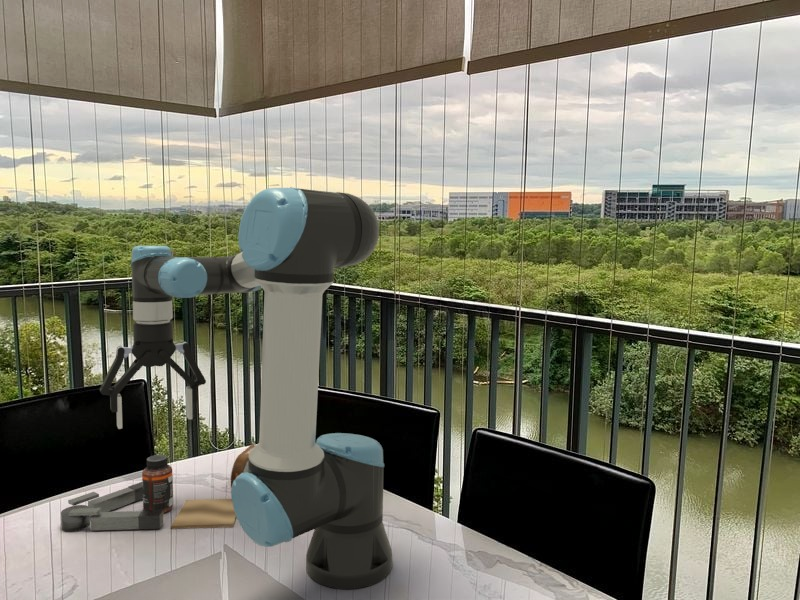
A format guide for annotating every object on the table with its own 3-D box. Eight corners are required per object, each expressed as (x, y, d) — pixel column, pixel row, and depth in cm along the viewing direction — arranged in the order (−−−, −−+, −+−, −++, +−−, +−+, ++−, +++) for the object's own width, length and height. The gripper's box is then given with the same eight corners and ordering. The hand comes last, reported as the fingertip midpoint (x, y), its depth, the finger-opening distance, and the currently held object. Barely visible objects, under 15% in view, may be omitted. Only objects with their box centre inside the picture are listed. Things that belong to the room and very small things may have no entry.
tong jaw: (74, 524, 120) (74, 503, 120) (68, 520, 122) (67, 499, 121) (152, 495, 134) (151, 476, 134) (145, 492, 136) (144, 473, 135)
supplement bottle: (179, 507, 129) (178, 456, 128) (155, 518, 124) (153, 465, 123) (161, 501, 132) (160, 450, 131) (137, 511, 127) (135, 459, 126)
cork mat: (232, 526, 120) (232, 524, 120) (170, 528, 119) (170, 525, 119) (242, 501, 132) (242, 498, 132) (186, 502, 131) (186, 500, 131)
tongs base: (159, 530, 119) (159, 511, 118) (55, 533, 117) (54, 514, 116) (167, 517, 124) (167, 499, 124) (68, 520, 122) (67, 501, 122)
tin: (254, 472, 149) (254, 439, 148) (266, 473, 148) (266, 440, 148) (229, 498, 134) (228, 461, 133) (242, 499, 134) (242, 462, 133)
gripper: (210, 316, 133) (212, 409, 135) (83, 322, 120) (87, 425, 123) (219, 320, 127) (220, 418, 129) (85, 327, 114) (89, 436, 116)
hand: (155, 422), depth 126 cm, fingers open, 13 cm apart
